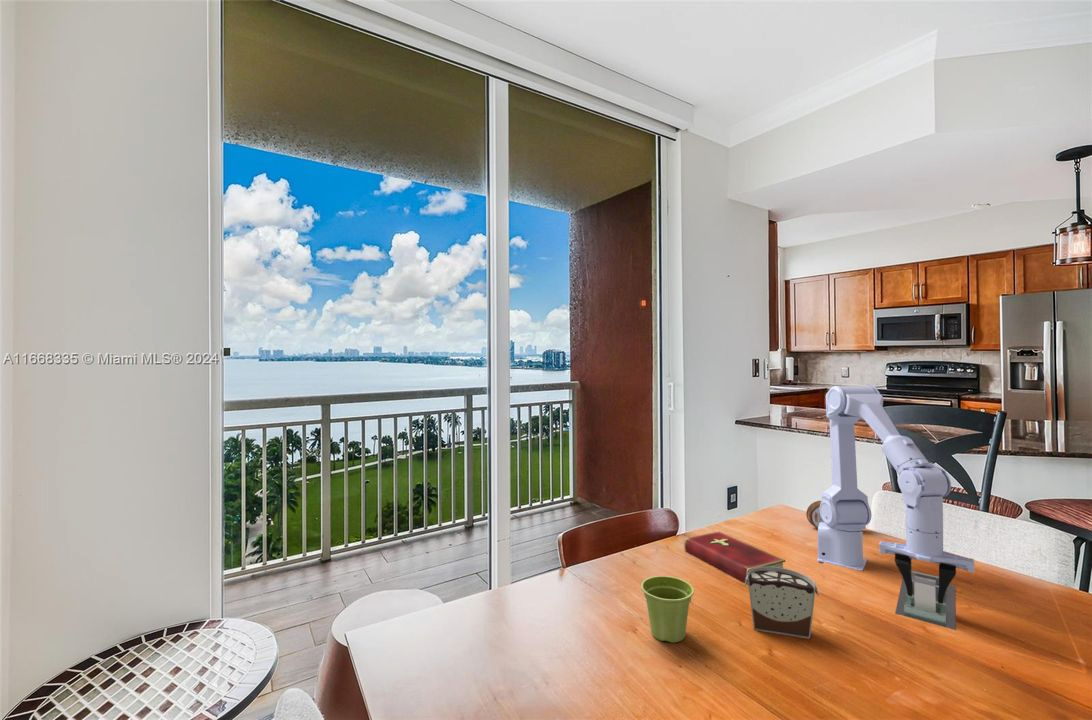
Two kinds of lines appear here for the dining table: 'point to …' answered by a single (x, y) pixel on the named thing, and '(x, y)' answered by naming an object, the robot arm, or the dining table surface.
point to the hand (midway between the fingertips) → (925, 597)
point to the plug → (925, 594)
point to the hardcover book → (730, 554)
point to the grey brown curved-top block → (781, 601)
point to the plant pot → (667, 606)
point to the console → (941, 617)
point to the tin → (814, 514)
